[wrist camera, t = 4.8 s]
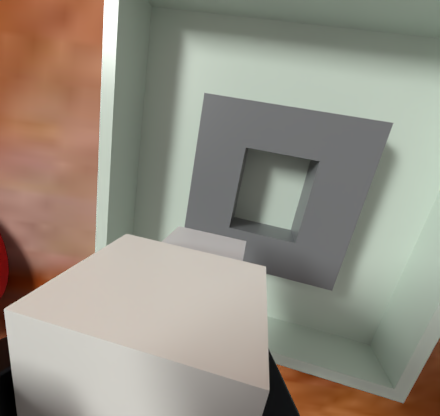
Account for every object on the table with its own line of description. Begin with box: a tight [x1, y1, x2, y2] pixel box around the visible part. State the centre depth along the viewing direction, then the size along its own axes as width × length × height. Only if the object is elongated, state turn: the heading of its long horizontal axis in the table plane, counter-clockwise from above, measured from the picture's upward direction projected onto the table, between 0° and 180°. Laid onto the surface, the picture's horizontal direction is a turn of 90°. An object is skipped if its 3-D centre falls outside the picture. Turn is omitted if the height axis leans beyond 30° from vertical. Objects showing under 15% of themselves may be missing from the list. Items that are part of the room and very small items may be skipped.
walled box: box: [95, 0, 440, 403], centre depth 17 cm, size 26×26×5 cm
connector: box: [4, 226, 270, 416], centre depth 8 cm, size 5×6×8 cm
